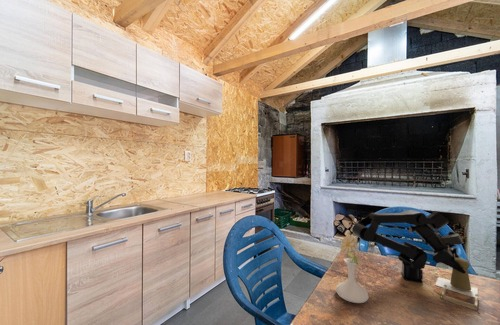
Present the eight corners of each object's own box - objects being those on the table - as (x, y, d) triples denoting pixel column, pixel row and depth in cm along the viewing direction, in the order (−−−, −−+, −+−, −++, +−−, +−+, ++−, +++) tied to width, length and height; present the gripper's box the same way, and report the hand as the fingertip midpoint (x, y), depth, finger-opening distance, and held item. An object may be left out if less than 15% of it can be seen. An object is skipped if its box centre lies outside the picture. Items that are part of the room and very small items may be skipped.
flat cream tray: (477, 310, 73) (477, 305, 73) (441, 298, 80) (441, 294, 80) (477, 299, 79) (477, 294, 79) (444, 288, 86) (444, 284, 86)
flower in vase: (334, 286, 89) (333, 226, 89) (364, 290, 85) (363, 228, 86) (338, 306, 76) (337, 237, 76) (374, 312, 73) (372, 239, 73)
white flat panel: (477, 298, 79) (477, 298, 79) (435, 285, 88) (435, 284, 88) (477, 289, 85) (477, 288, 85) (438, 277, 94) (438, 276, 94)
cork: (473, 292, 81) (473, 263, 81) (452, 287, 84) (452, 259, 85) (468, 284, 86) (467, 257, 86) (448, 280, 89) (448, 254, 90)
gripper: (443, 230, 82) (486, 269, 74) (449, 221, 95) (486, 254, 86) (418, 245, 88) (455, 282, 80) (427, 235, 101) (460, 266, 92)
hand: (465, 270), depth 84 cm, fingers closed on cork, 5 cm apart
